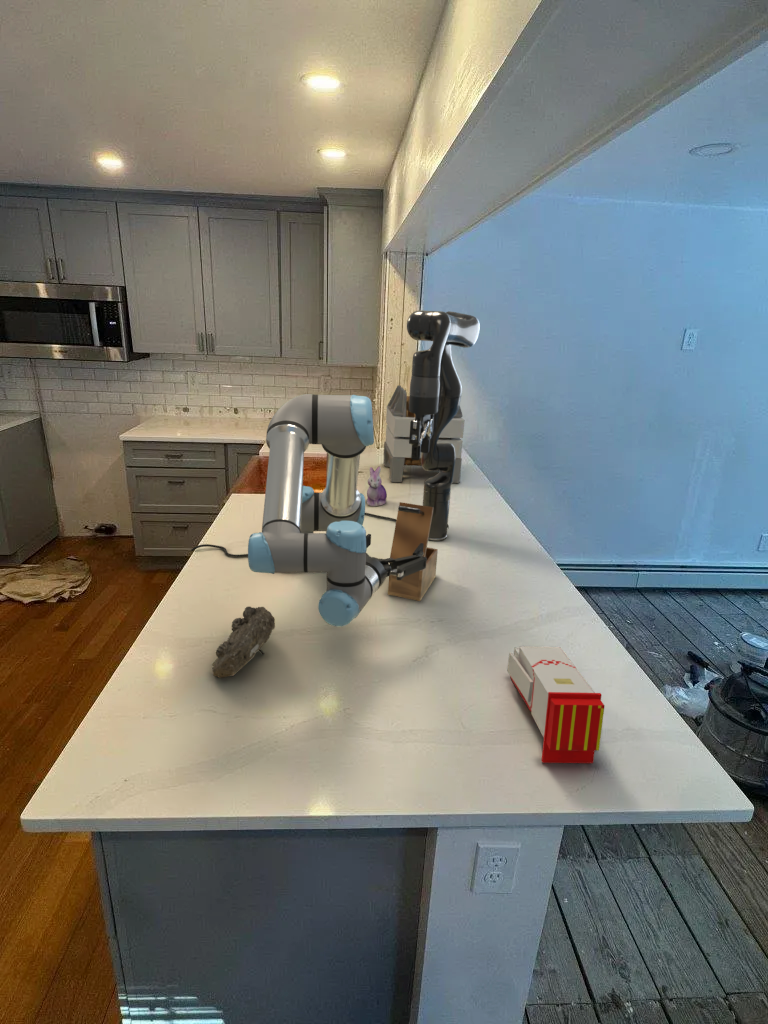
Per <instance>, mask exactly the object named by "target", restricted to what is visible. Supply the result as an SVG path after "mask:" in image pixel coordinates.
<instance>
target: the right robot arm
mask: <svg viewBox="0 0 768 1024" xmlns="http://www.w3.org/2000/svg"><path fill="white" fill-rule="evenodd" d="M480 327H481V325H480V321H479V319H478V318H477V317H476V316H474V315H471V314H467V313H461V312H456V311H451V310H450V311H449V310H448V311H446V312H445V311H442V310H441V311H440V310H423V309H421V310H415V311H413V312H412V313H411V314H410V315H409V316H408V318H407V320H406V331H407V334H408V335H409V337H410V338H411V339H413V340H414V341H422V342H423V341H425V342H432V344H431V346H430V347H429V348H428V349H424V350H418V351H415V352H414V353H413V355H412V363H411V377H410V383H409V384H410V385H409V395H408V396H409V412H411V413H414V414H415V415H416V416H415V420H411V422H410V436H409V444H411V445H412V453H411V459H413V460H419V459H420V454H421V465H422V466H421V467H422V469H423V470H424V471H427V472H438V473H436V474H435V475H433V476H431V477H428V478H427V479H425V480H424V482H423V493H422V496H423V497H422V506H428V507H433V508H434V509H433V515H432V521H431V526H430V532H429V538H428V541H432V542H440V541H444V540H446V539H447V538H448V530H449V528H450V526H449V517H450V516H449V514H450V504H451V494H452V493H451V491H452V485H453V483H452V481H453V472H454V466H455V448H454V446H453V445H452V444H450V443H437V441H438V438H439V436H440V434H441V432H442V431H443V429H444V428H445V427H446V426H447V424H448V423H449V422H450V421H451V420H452V419H453V417H454V416H455V415H456V413H457V411H458V409H459V406H460V407H461V401H462V394H463V387H462V382H461V380H460V377H459V375H458V373H457V370H456V367H455V364H454V362H453V357H452V346H454V347H459V348H466V349H468V348H472V347H473V346H474V345H475V344H476V342H477V340H478V339H479V334H480ZM415 438H417V440H415ZM421 452H422V453H421ZM364 516H369V517H374V518H379V519H383V520H389V521H393V522H396V520H397V518H393V517H388V516H382V515H380V514H379V515H378V514H374V513H369V512H365V515H364Z"/></svg>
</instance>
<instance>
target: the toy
mask: <svg viewBox="0 0 768 1024" xmlns="http://www.w3.org/2000/svg"><path fill="white" fill-rule="evenodd" d="M506 671H507V674H508V675H509V676H510V677H509V678H510V680H511V682H512V683H513V684H514V687H515V688H516V690H517V691H518V693H519V695H520V697H521V698H522V700H523V702H524V703H525V705H526V707H527V708H528V710H529V712H530V713H531V716H532V718H533V720H534V722H535V724H536V727H538V730H539V732H540V733H541V736H542V737H543V740H542V741H543V742H542V752H541V763H542V764H594V760H595V751H597V752H599V751H600V747H601V737H602V729H603V722H604V714H605V704H604V702H603V701H602V693H601V692H595V691H594V689H593V688H592V687H591V685H590V684H589V683H588V681H587V680H586V679H585V678H584V675H582V674H581V672H580V671H579V669H578V668H577V667H576V666H575V664H574V663H573V661H572V660H571V659H570V658H569V657H568V655H567V653H566V652H565V651H564V650H563V648H562V647H561V646H524V645H523V646H521V645H520V646H519V647H518V646H517V647H516V646H515V647H514V648H513V652H509V655H508V662H507V667H506Z"/></svg>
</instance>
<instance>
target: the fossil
mask: <svg viewBox="0 0 768 1024" xmlns="http://www.w3.org/2000/svg"><path fill="white" fill-rule="evenodd" d="M275 628H276V620H275V617H274V615H273V613H272V612H271V611H269V610H268V609H266V607H265V606H258V607H257V606H256V607H252V606H246V607H244V611H243V612H242V617H236V618H234V619H233V621H232V622H231V631H232V632H231V633H230V634H229V636H228V638H227V640H224V641H223V642H222V644H219V645H218V647H217V648H216V650H215V656H216V657H217V658H216V660H215V661H214V662H213V663H212V664H211V665H212V667H211V669H212V676H213V677H218V678H219V679H222V678H226V677H232V676H234V675H235V676H236V674H237V673H238V672H239V671H240V670H241V669H243V668H244V667H245V666H246V665H247V664H248V663H249V662H250V661H251V660H252V659H254V657H255V656H256V653H258V652H259V653H260V654H261V655H262V656H264V655H265V652H264V651H263V650H262V649H261V648H262V647H263V645H264V644H265V643H267V641H268V640H269V639H270V636H271V634H272V633H273V631H274V630H275Z"/></svg>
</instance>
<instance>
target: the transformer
mask: <svg viewBox="0 0 768 1024" xmlns="http://www.w3.org/2000/svg"><path fill="white" fill-rule="evenodd" d="M407 394H408V393H407V390H406V389H404V388H403V387H402V385H399V384H398V385H397V386H396V388H395V390H394V392H393V394H392V395H391V398H390V400H389V402H388V404H387V405H386V413H385V414H386V415H385V423H386V428H385V438H384V442H383V466H384V467H388V468H389V475H388V476H389V477H388V478H389V480H390V482H391V483H402V482H403V475H404V469H405V466H406V467H407V466H411V467H412V466H413V467H415V466H416V467H417V466H418V467H422V465H421V454H420V459H419V460H413V459H411V453H412V445H411V444H409V436H410V422H411V420H415V416H416V415H415V414H414V413H411V412H409V396H410V395H407ZM464 429H465V419H464V418H463V411H462V408H461V405H460V406H459V409H458V411H457V413H456V415H455V416H454V417H453V419H452V420H451V421H450V422H449V423H448V424H447V426H446V427H445V428H444V429H443V431H442V432H441V434H440V436H439V438H438V441H437V443H450V444H452V445H453V446H454V448H455V466H454V472H453V481H452V484H455V483H456V484H459V483H461V472H462V461H463V460H462V453H463V442H464V441H463V440H462V439H463V438H464V431H465V430H464ZM415 440H417V438H415ZM421 453H422V452H421Z"/></svg>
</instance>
